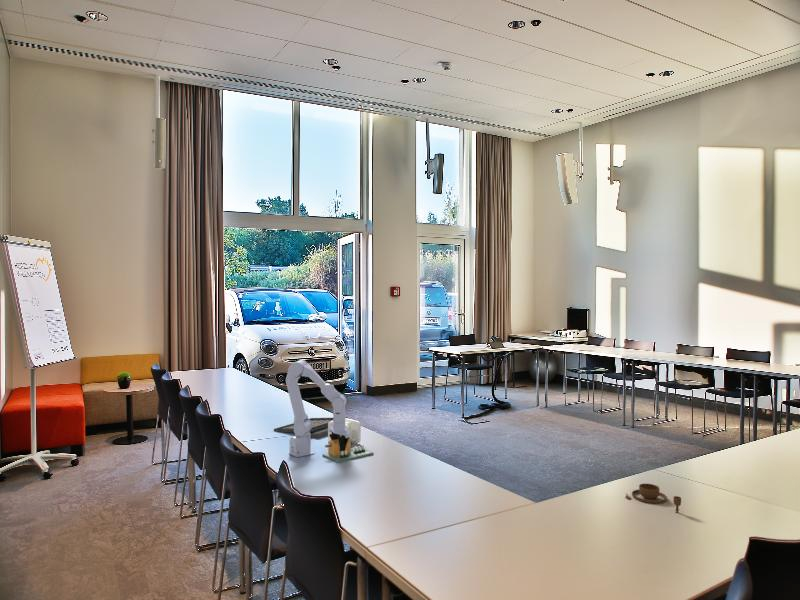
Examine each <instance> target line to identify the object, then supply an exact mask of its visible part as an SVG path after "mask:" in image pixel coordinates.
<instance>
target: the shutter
mask: <svg viewBox="0 0 800 600" xmlns="http://www.w3.org/2000/svg"><path fill="white" fill-rule="evenodd" d="M345 418H348V417H347V416H345ZM308 419H309V420H310V421H311V423H312V428H311V430H310V433H311V432H312V433H311V438H312V439H316V440H318V439H319V440H320V439H322V438H325V437H328V423H329V422H330V421H333V417H310V418H308ZM320 429H322V430H320ZM316 430H318V431H316ZM314 431H315V432H314ZM273 432H276V433H294V422H293V423H290V424H286V425H282V426H279V427H275V428H273Z"/></svg>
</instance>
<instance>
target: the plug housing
mask: <svg viewBox="0 0 800 600" xmlns="http://www.w3.org/2000/svg"><path fill="white" fill-rule="evenodd" d="M324 447H325V448H327V449H328V452H327V453H328V454H330V455H333V456H337V455H341V451H340V444H339V440H338V439H335V440H330V441H329V440H328V443H327V444H325V445H324ZM350 448H351V442H350V440H348V442H347V445H346V448H345V450H347V453H350ZM343 454H345V451H343Z"/></svg>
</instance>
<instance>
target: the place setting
mask: <svg viewBox="0 0 800 600" xmlns="http://www.w3.org/2000/svg"><path fill="white" fill-rule="evenodd" d="M638 488H639V489H634V490H632V492H631V495H632V497H633V499H635V500H637V501H639V502H642V503H645V504H646V503H647V504H655V505H656V504H659V505H660V504H663V503H665V502H666V501H667V499H668V496H667V495H666V494H664V493H663V492H660V487H659V486H658V485H656V484H652V483H640V484H638ZM639 494H640V495H641V496H642V497H639V496H636V495H639ZM625 495H626V496H625V499H628V500H631V498H632V497H631V496H629V495H628V493H625ZM659 497H661V498H662V499H660V500H658V499H657V498H659ZM655 499H657V500H655ZM672 503H673V505H674V506H675V514H679V513H680V512H679V511H680V509H679V507H680V506H681V505H682V497H681V496H677V495H675V496H673V502H672Z"/></svg>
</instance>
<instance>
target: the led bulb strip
mask: <svg viewBox="0 0 800 600" xmlns="http://www.w3.org/2000/svg"><path fill="white" fill-rule="evenodd" d="M354 447H355V451H354V453H355V454H356V453H361V452H365V450H366V449H365V445H364V444H362V445H358V446H354ZM357 447H358V451H357ZM361 448H362V450H361ZM364 449H365V450H364Z"/></svg>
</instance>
